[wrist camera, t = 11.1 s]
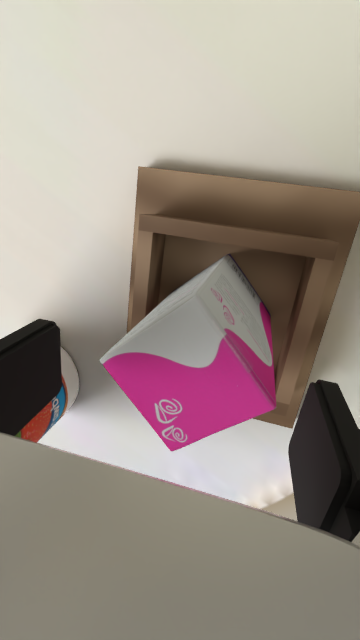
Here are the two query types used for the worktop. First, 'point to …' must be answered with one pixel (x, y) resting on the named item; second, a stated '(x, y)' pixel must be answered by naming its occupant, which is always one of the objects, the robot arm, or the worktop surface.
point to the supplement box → (199, 357)
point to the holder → (248, 256)
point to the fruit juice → (54, 402)
